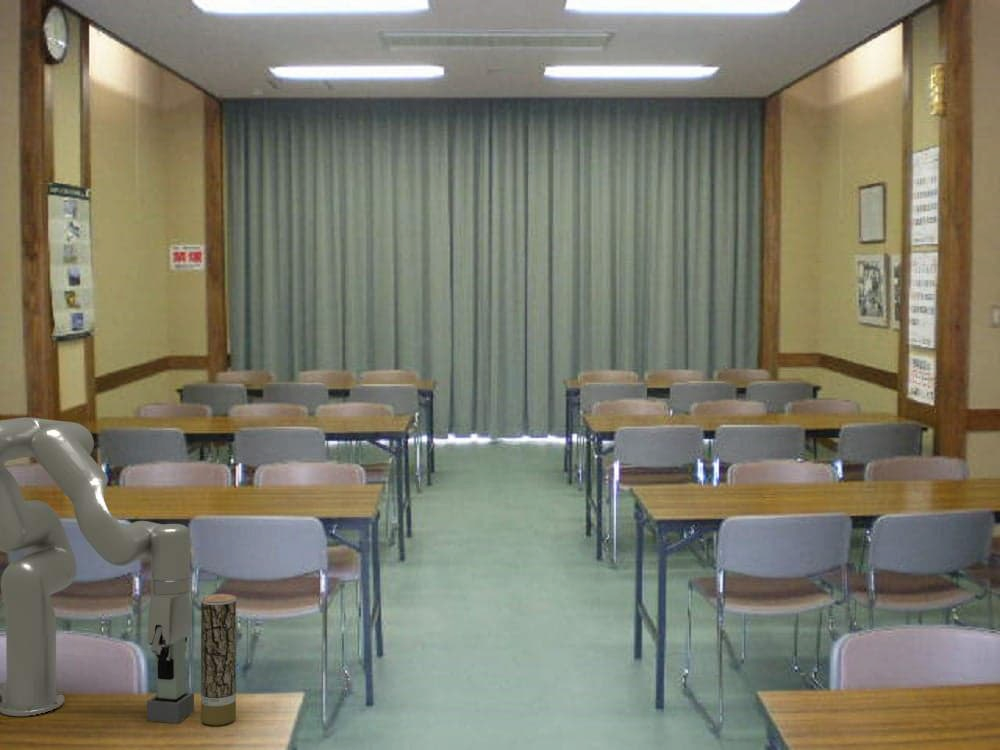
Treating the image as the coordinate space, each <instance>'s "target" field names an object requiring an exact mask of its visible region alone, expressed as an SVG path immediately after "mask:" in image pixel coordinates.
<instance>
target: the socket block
mask: <svg viewBox="0 0 1000 750" xmlns="http://www.w3.org/2000/svg"><path fill="white" fill-rule="evenodd" d="M193 711H194V712H195V693H194V692H189V691H186V693H185V694H183V695H182V696H180V697H179V698H177V699H167V698H158V693H157V694H156V695H154V696H152V697H151V698H149V699H148V700H146V721H147V720H149V721H148V722H154V721H159V722H158V723H164V722H167V724H175V725H176V724H177V725H178V724H180V723H181V722H183V721H184V720H185V719H186V718H185V717H187V716H188V715H189V714H191V713H192V712H193ZM194 712H193V713H194ZM193 713H192V714H193ZM192 714H191V715H192ZM189 716H190V715H189ZM189 716H188V717H189ZM188 717H187V718H188ZM183 719H184V720H183ZM179 722H180V723H179Z"/></svg>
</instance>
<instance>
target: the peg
mask: <svg viewBox="0 0 1000 750" xmlns="http://www.w3.org/2000/svg"><path fill="white" fill-rule="evenodd" d="M165 643H166V641H162V644H165ZM162 649H165V651H166V652H167V648H164V647H162ZM171 659H172V660H173V662H174V678H173V679H172V680H165V679H158V678H157V694H158V698H167V699H177V698H179V697H180V696H182V695H183V694H185V693H186V692H187V691H186V690H187V688H186V685H187V684H186V651H185V637H184V638H182V639H180V640H178V641H176V642H175V643H174V644H173V646H172V658H171ZM156 661H157V663H158V660H157V659H156Z"/></svg>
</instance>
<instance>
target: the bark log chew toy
mask: <svg viewBox="0 0 1000 750" xmlns="http://www.w3.org/2000/svg"><path fill="white" fill-rule="evenodd" d="M200 607H201V609H200V618H201V619H200V629H201V630H200V633H201V634H200V643H201V644H200V650H201V651H200V656H201V658H200V663H201V664H200V689H201V690H200V692H201V693H200V703H201V705H200V706H201V708H200V709H201V711H200V713H201V714H200V718H201V721H202V723H203V724H205V725H207V726H214V727H215V726H218V727H219V726H223V725H228V724H231V723H233V722H234V721H235V720H236V716H237V598H236V596H235V595H234V594H229V593H215V594H208V595H205V596H202V597H201V602H200Z"/></svg>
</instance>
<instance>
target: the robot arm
mask: <svg viewBox="0 0 1000 750" xmlns="http://www.w3.org/2000/svg"><path fill="white" fill-rule="evenodd" d="M94 444H95V442H94V437H93V435H92V433H91V432H90V430H89V429H88V428H86V427H85V426H84V425H82V424H80V423H77V422H72V421H64V420H62V421H61V420H54V419H44V418H39V417H38V418H36V417H16V418H10V419H9V418H8V419H0V552H2V553H5V554H6V553H9V554H11V553H16V552H20V551H23V550H26V552H27V554H26V555H23V556H21V557H19V558H17V559H15V560H13V561H12V562H11V563H10V564H8V565H7V566H6V568H5V569H4V571H3V572H2V575H1V579H0V589H1V595H2V601H3V605H4V612H5V614H4V615H5V635H6V638H5V641H6V644H5V645H6V650H5V651H6V654H5V655H6V656H5V658H6V659H5V660H6V683H5V682H4V683H3V682H0V696H1V701H0V713H1V714H2V715H5V716H9V717H10V716H11V717H30V716H29V715H33V716H37V715H36V714H39V715H41V714H40V713H44V714H46V713H45V712H47V711H50V710H53V709H55V708H57V707H58V706H60V705H61V704H62V703H63V702H64V703H65V696H64V695H63V694H62V693H60V692H57V619H56V613H55V609H54V607H53V604H52V602H51V601H52V600H51V596H52V595H54V594H56V593H58V592H60V591H63V590H64V589H66V588H68V587H69V586H71V584H72V583H73V582H74V581H75V578H76V576H77V571H78V566H77V562H76V558H75V555H74V551H73V548H72V547H71V545H70V541H69V539H68V536H67V534H66V531H65V529H64V526H63V523H62V520H61V519H60V516H59V515H58V513H57V512H56V510H55V509H54V507H52V506H51V505H50V504H49V503H47V502H45V501H42V500H37V499H35V500H34V499H33V500H32V499H31V500H25V498H24V496H23V493H22V492H21V488H20V486H19V482H18V480H16V479H17V478H15V476H14V475H13V474H12V473H11V471H9V469H8V468H7V467H6V466H5V463H6V462H7V461H14V460H19V459H23V458H34V459H35V460H36V461H37V463H38V464H39V465H40V466H41V467H42V468H43V470H44V471H45V472H46V473H47V475H49V477H50V478H51V479H52V480H53V482H55V484H56V485H57V486H58V487H59V488H60V489H61V490H62V492H63V493H64V494H65V496H67V498H68V499H69V500H70V502H71V503H72V506H73V511H74V515H75V519H76V522H77V525H78V527H79V530H80V533H81V534H82V537H84V538H85V540H86V542H87V543H88V544H89V545H90V546H91V547H92V548H93V549H94V551H95V552H96V553H97V554H98V555H99V556H100V557H101V558H102V559H103V560H104V561H106V562H107V563H109V564H111V565H113V566H117V567H124V566H127V565H130V564H133V563H134V562H137V561H140V560H142V559H147V558H149V557H150V571H151V572H150V573H151V574H150V577H151V578H150V579H151V583H150V584H151V585H150V589H151V590H150V592H151V597H150V601H149V606H148V607H149V609H148V621H147V643H148V645H149V646H151V649H150V650H151V652H152V653H153V654H154V655H155V659H156V661H157V660H158V662H157V680H158V679H165V680H172V679H173V678H174V662H173V660H172V659H171V658H172V646H173V644H174V643H175V642H176V641H178V640H180V639H182V638H184V637H185V652H186V650H187V646H186V643H187V641H188V638H189V636H190V634H191V629H192V628H191V627H192V611H191V599H190V597H191V596H190V593H191V567H190V566H191V563H190V562H191V560H190V559H191V558H190V557H191V555H190V554H191V551H190V543H191V541H190V540H191V539H190V538H191V537H190V529H189V528H188V527H187V526H186V525H184V524H180V523H165V524H162V523H157V522H152V521H147V520H138V521H134V522H131V523H128V524H126V525H122V524H121V523H120V522H119V521H118V520H117V519H116V518H115V517H114V515H113V514H112V512H111V511H110V509H109V508H108V507H109V506H107V503H106V499H105V490H106V488H107V485H108V482H109V477H108V475H107V473H106V472H105V471H104V470H103V469H102V468H101V466H100V465H99V464H98V463H97V462H96V460H95V459H94V457H92V456H91V454H92V452H93V450H94ZM162 641H166V643H165V644H162ZM162 647H164V648H167V652H166V651H165V649H162Z"/></svg>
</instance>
